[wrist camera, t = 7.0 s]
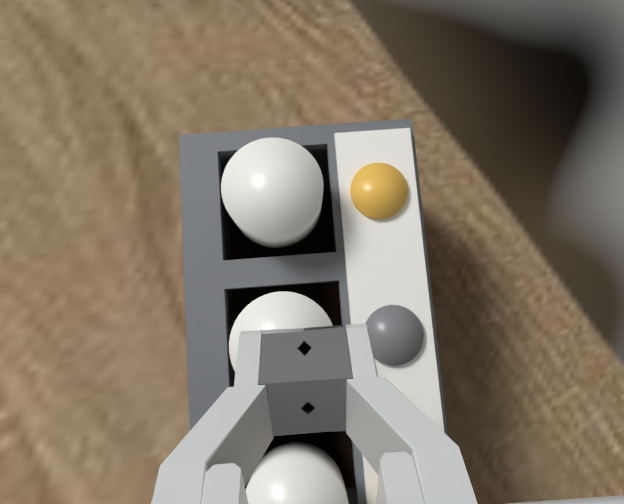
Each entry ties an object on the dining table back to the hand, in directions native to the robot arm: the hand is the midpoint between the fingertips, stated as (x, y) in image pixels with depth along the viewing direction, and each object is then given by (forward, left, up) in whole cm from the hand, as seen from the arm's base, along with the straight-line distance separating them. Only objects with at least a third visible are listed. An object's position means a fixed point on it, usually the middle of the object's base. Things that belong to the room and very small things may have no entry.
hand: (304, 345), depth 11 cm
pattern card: (+2, -3, -7) cm, 7 cm away
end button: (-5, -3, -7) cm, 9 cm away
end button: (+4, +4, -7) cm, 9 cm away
